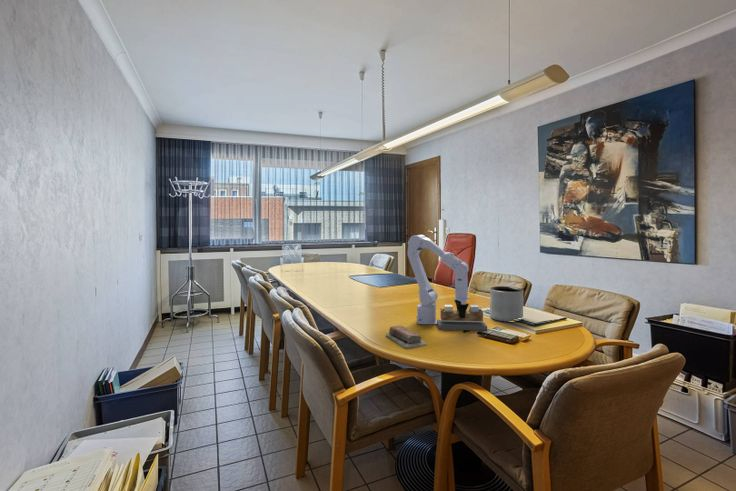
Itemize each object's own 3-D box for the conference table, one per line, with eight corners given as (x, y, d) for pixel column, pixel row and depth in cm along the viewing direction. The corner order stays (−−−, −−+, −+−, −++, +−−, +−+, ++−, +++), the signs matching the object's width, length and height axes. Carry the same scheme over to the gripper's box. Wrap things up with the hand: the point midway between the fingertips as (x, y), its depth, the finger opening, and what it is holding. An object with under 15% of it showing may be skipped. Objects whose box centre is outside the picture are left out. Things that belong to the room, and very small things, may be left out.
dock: (438, 329, 172) (438, 324, 172) (436, 323, 182) (436, 319, 181) (487, 330, 169) (487, 326, 169) (482, 324, 179) (482, 320, 179)
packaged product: (385, 326, 162) (404, 323, 166) (385, 337, 163) (404, 334, 167) (406, 337, 146) (427, 334, 150) (406, 349, 146) (427, 346, 150)
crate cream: (445, 312, 174) (445, 306, 174) (444, 310, 178) (444, 304, 178) (452, 312, 173) (452, 306, 173) (451, 310, 177) (451, 304, 177)
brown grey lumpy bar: (441, 320, 174) (441, 310, 173) (440, 317, 179) (440, 307, 179) (482, 321, 171) (483, 311, 171) (480, 318, 177) (480, 308, 177)
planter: (498, 313, 200) (498, 284, 199) (528, 318, 189) (528, 288, 188) (484, 318, 189) (484, 289, 188) (514, 325, 178) (515, 293, 177)
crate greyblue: (470, 313, 173) (471, 306, 172) (469, 311, 176) (469, 305, 176) (478, 313, 172) (478, 307, 172) (477, 311, 176) (477, 305, 176)
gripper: (472, 290, 167) (472, 320, 167) (467, 285, 181) (467, 312, 182) (456, 290, 167) (456, 320, 168) (452, 285, 182) (452, 312, 183)
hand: (461, 316), depth 175 cm, fingers closed on brown grey lumpy bar, 5 cm apart
